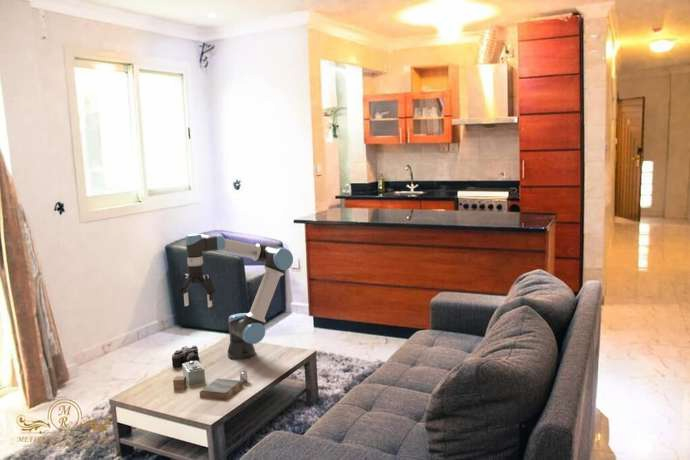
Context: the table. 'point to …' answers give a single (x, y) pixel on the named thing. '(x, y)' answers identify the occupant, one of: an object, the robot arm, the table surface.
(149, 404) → the table surface
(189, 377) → the housing
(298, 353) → the table surface
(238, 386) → the grey brown flat block
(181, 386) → the walnut block
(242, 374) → the steel cup
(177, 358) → the camera
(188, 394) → the table surface
